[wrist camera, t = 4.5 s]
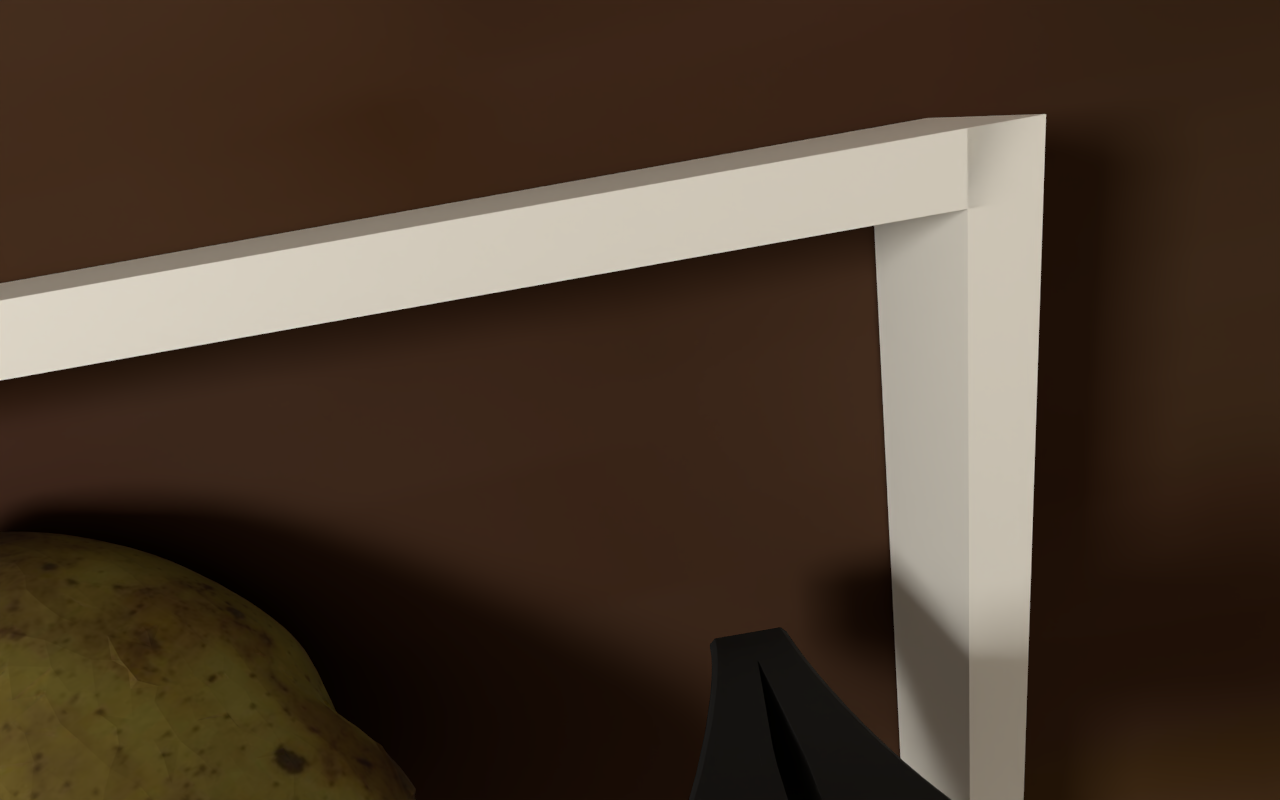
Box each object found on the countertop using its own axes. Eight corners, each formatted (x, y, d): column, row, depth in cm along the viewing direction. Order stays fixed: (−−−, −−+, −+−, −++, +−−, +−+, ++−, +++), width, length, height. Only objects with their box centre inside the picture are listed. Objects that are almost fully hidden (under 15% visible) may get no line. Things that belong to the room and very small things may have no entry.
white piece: (943, 853, 19) (1016, 1006, 15) (131, 991, 19) (33, 1172, 16) (927, 117, 12) (1045, 114, 9) (-300, 337, 12) (-619, 410, 9)
